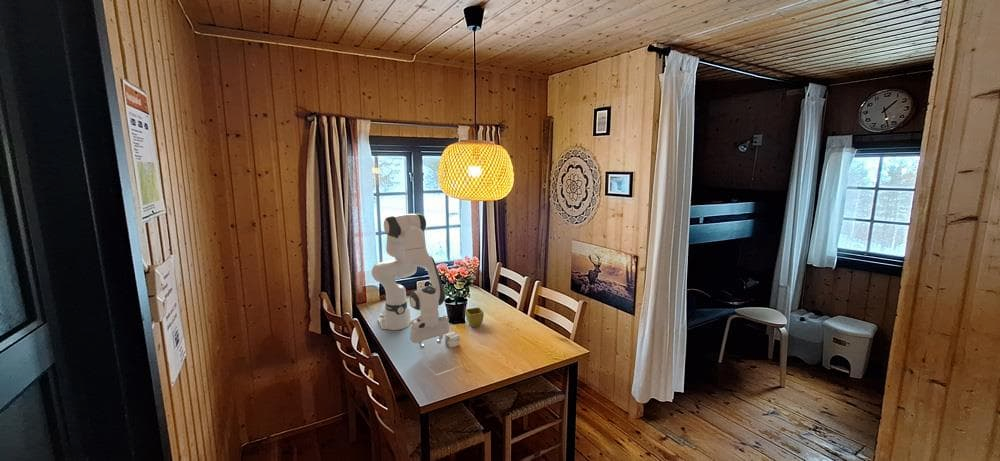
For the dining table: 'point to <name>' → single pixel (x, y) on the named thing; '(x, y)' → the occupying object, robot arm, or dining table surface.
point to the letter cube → (452, 339)
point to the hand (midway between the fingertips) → (430, 345)
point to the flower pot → (474, 316)
